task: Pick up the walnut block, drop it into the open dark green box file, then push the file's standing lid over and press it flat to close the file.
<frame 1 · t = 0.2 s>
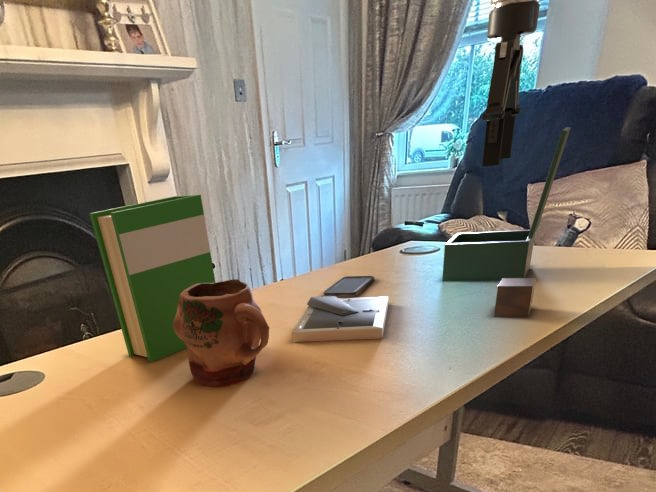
hand: (496, 162, 97), 22 cm above the table, tool pointing down, fingers open, 13 cm apart
hardback book: (178, 346, 102), on the table
block: (512, 314, 94), on the table
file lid: (548, 183, 104), point 17 cm above the table, hinge at 100.0°
terracotta mug: (232, 380, 84), on the table
box file: (486, 275, 118), on the table
picture frame: (343, 325, 101), on the table
phone: (349, 290, 122), on the table
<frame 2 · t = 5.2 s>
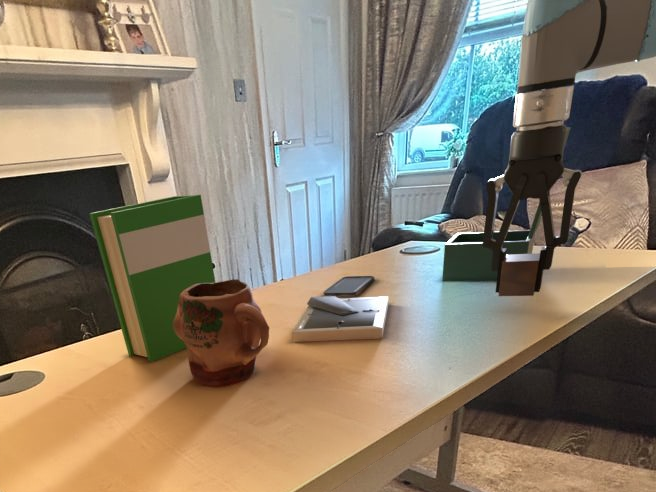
hand: (517, 289, 92), 4 cm above the table, tool pointing down, fingers closed on block, 5 cm apart
block: (517, 291, 92), point 4 cm above the table, touching gripper
everything else where it was.
when the fingers open (4 cm above the table, at t = 11.3 s): block drops 3 cm, resting on box file.
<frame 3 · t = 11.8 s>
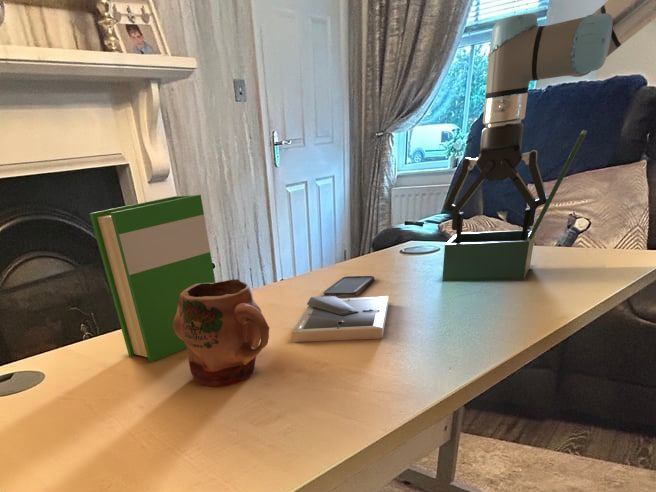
hand: (489, 245, 115), 6 cm above the table, tool pointing down, fingers open, 13 cm apart
block: (486, 271, 118), point 1 cm above the table, touching box file
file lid: (557, 185, 104), point 17 cm above the table, hinge at 110.3°
everything else where it was.
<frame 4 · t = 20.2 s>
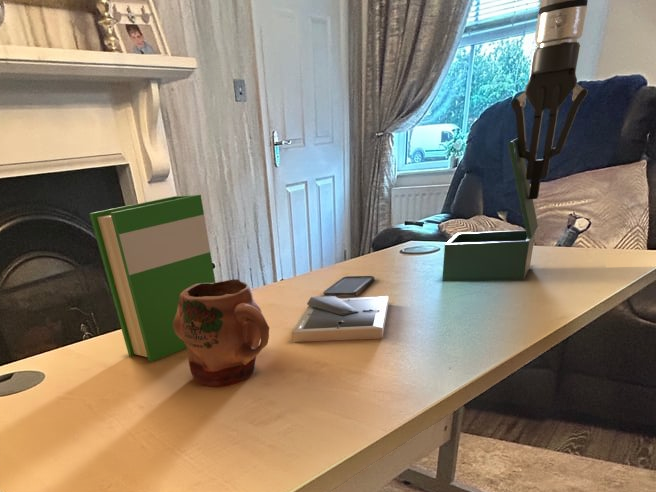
hand: (533, 198, 107), 15 cm above the table, tool pointing down, fingers closed
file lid: (524, 187, 106), point 17 cm above the table, hinge at 70.4°, touching gripper
everything else where it was.
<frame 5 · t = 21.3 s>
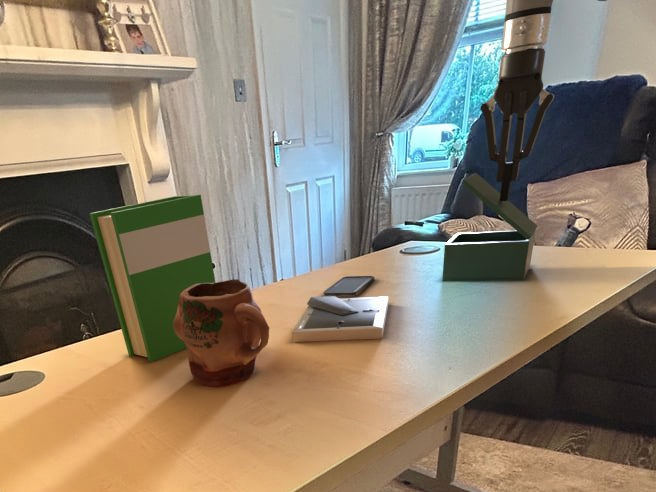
hand: (504, 200, 109), 15 cm above the table, tool pointing down, fingers closed
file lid: (501, 205, 110), point 14 cm above the table, hinge at 38.1°
everything else where it was.
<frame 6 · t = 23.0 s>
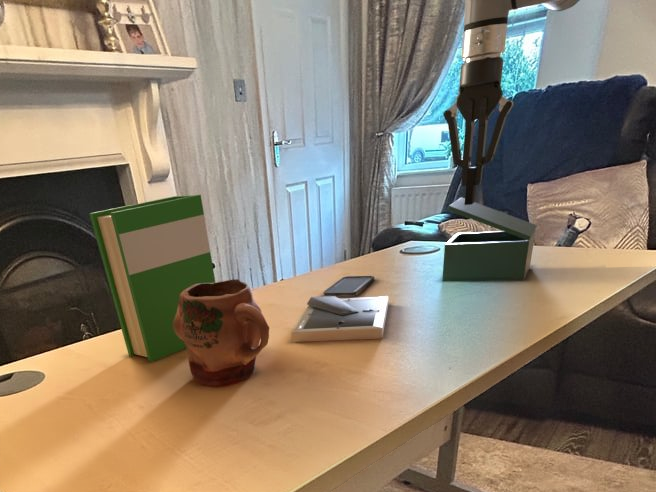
hand: (469, 203, 112), 14 cm above the table, tool pointing down, fingers closed
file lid: (493, 217, 112), point 11 cm above the table, hinge at 21.4°, touching gripper
everything else where it was.
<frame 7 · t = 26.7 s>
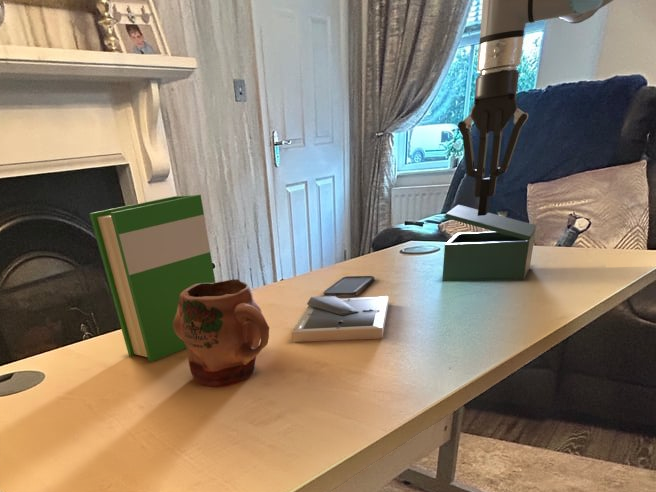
hand: (482, 214, 112), 12 cm above the table, tool pointing down, fingers closed
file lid: (491, 221, 112), point 11 cm above the table, hinge at 16.5°, touching gripper
everything else where it was.
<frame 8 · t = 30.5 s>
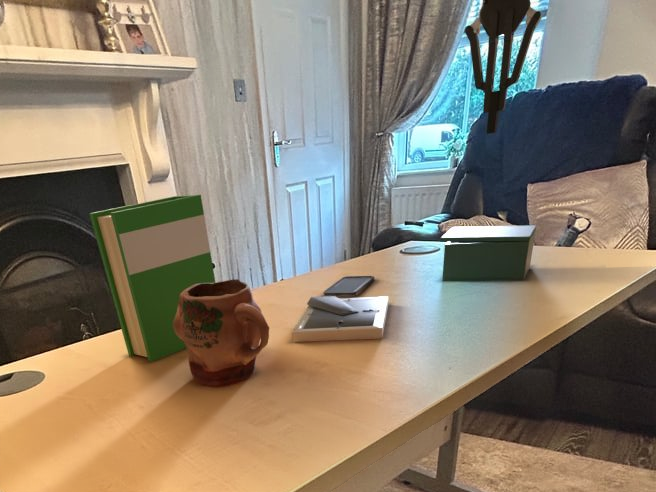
hand: (491, 132, 104), 26 cm above the table, tool pointing down, fingers closed
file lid: (488, 233, 114), point 9 cm above the table, hinge at 1.7°
everything else where it was.
at the end: block inside the target area in the box file (0.0 cm from its centre), point 0.8 cm above the box file's base; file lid at +2° (first picture: +100°) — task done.
